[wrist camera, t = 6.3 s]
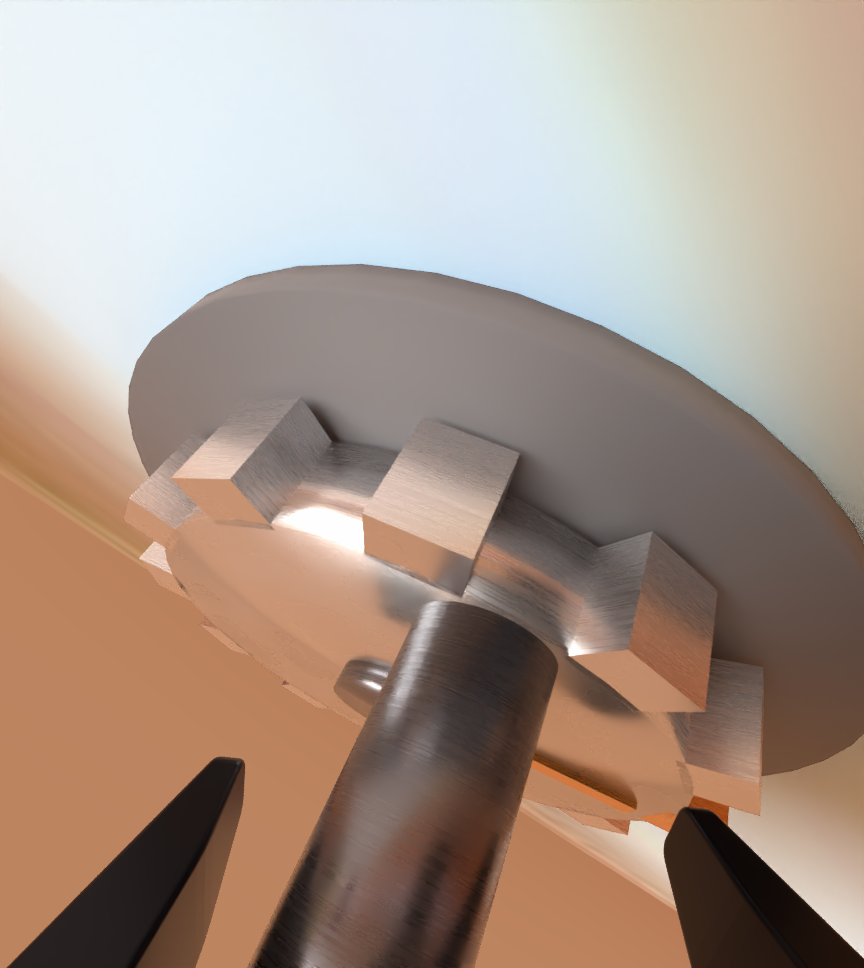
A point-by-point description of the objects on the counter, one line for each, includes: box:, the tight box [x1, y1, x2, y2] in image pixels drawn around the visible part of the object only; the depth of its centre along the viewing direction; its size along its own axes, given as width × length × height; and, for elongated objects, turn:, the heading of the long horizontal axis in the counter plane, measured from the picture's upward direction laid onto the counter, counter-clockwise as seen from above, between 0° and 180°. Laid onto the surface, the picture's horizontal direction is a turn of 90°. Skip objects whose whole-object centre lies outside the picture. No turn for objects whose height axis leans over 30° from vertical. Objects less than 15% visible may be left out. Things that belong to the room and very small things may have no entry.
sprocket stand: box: [128, 264, 864, 822], centre depth 14 cm, size 19×19×2 cm
